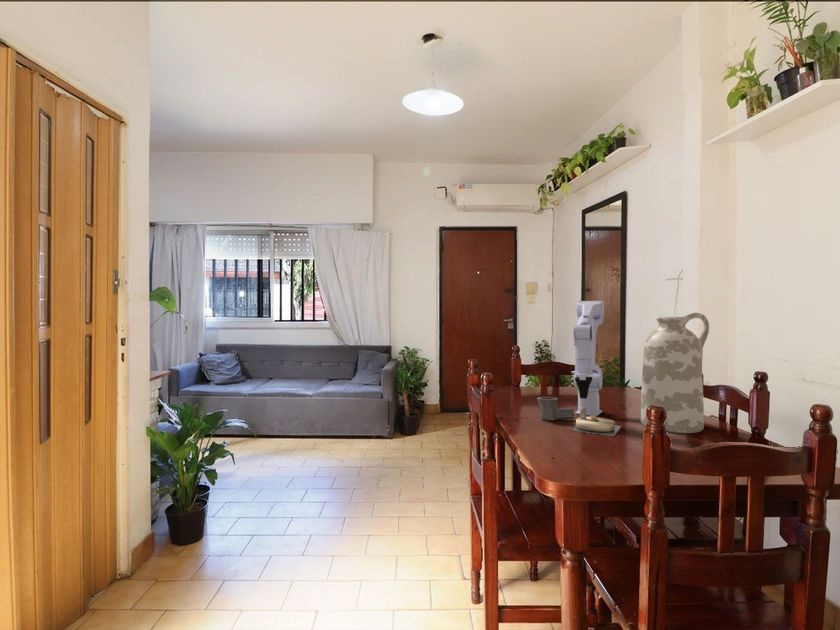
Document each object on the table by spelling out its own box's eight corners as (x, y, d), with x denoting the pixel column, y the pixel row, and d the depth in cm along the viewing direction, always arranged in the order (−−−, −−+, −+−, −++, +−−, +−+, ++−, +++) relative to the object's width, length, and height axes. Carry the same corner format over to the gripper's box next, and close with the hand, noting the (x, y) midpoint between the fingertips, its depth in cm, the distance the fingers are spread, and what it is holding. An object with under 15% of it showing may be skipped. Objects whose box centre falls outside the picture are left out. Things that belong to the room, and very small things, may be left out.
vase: (644, 431, 151) (644, 312, 151) (637, 418, 169) (637, 312, 168) (716, 436, 145) (717, 312, 144) (701, 422, 162) (702, 312, 162)
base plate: (581, 422, 163) (581, 421, 163) (621, 426, 156) (621, 426, 156) (571, 430, 151) (571, 430, 151) (614, 436, 145) (614, 435, 145)
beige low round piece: (580, 421, 162) (580, 405, 162) (617, 425, 156) (617, 408, 156) (571, 428, 152) (571, 411, 152) (611, 433, 146) (611, 415, 146)
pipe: (575, 422, 164) (575, 399, 164) (538, 422, 164) (538, 399, 164) (570, 418, 170) (570, 396, 170) (535, 418, 170) (535, 396, 170)
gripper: (573, 356, 171) (573, 393, 171) (570, 360, 158) (570, 400, 158) (593, 357, 169) (593, 395, 169) (592, 361, 155) (592, 402, 155)
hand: (583, 398), depth 163 cm, fingers closed
